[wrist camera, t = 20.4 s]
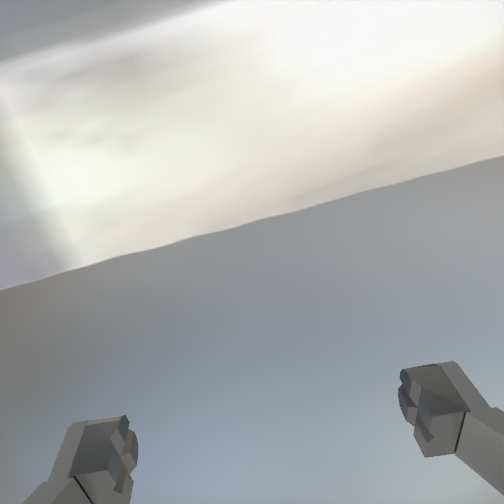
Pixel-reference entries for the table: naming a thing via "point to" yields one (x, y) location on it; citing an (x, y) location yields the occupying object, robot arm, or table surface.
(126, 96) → the table surface
